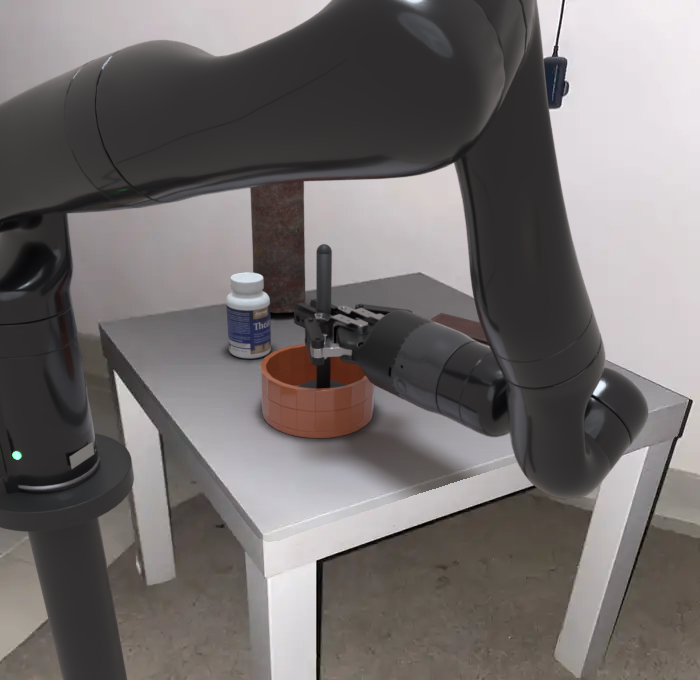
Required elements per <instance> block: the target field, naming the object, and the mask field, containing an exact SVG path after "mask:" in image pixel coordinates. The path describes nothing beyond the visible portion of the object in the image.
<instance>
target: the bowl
mask: <svg viewBox="0 0 700 680" xmlns="http://www.w3.org/2000/svg"><path fill="white" fill-rule="evenodd" d="M259 366H260V392H261V393H260V396H261V409H262V412H261V413H262V417H263V419H264V420H265V422H266V423H267V424H268V425H269V426H271V427H272V428H273V429H275V430H277V431H279V432H281V433H284V434H287V435H291V436H295V437H299V438H305V439H306V438H308V439H330V438H337V437H343V436H346V435H350V434H353V433H355V432H357V431H359V430H361V429H362V428H364V427H365V426H367V425H368V424H369V423H370V421H371V420H372V418H373V414H374V407H375V387H376V386H375V385H374V384H372V383H371V382H370V381H369V380H368V378H367V377H366V375H365V374H364V372H363V370H362V369H361V367H360V366H359V365H356V364H352V363H346V362H344V361H342V360H341V359H340V358H339V357H331V375H330V380H333V381H337V382H341V383H343V384H345V385H346V386H341V387H335V388H319V389H314V388H303V387H298V386H299V385H301V384H303V383H305V382H308V381H313V380H316V365H313V364H312V363H311V361H310V358H309V355H308V352H307V349H306V346H305V343H301V344H295V345H289V346H286V347H282V348H279V349H276V350H274V351H272V352H271V353H268V354H267V355H265V356H264V358H263V359H262V361H261V362H260V365H259Z"/></svg>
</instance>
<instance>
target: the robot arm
mask: <svg viewBox="0 0 700 680" xmlns="http://www.w3.org/2000/svg"><path fill="white" fill-rule="evenodd" d="M541 29H542V28H541V20H540V14H539V7H538V0H330V1H329V2H328V3H327V4H326V5H325V6H324V7H323V8H321V10H320V11H318V12H317V13H316V14H315V15H313V16H311V17H310V18H308V19H307V20H305V21H303V22H302V23H300V24H298V25H296V26H294V27H292V28H291V29H289V30H287V31H285V32H283V33H280V34H279V35H277V36H275V37H272V38H270V39H267V40H265V41H263V42H260V43H258V44H255V45H252V46H250V47H248V48H246V49H243V50H239V51H237V52H233V53H230V54H226V55H214V54H213V53H210V52H209V51H206V50H203V49H202V48H200V47H197V46H194V45H192V44H189V43H185V42H182V41H177V40H170V39H156V40H155V39H154V40H148V41H143V42H139V43H135V44H131V45H129V46H126V47H122V48H121V49H118V50H115V51H112V52H110V53H108V54H105V55H102V56H99V57H97V58H95V59H92V60H90V61H87V62H85V63H83V64H82V65H80V66H77V67H75V68H73V69H70V70H69V71H66V72H64V73H61V74H59V75H57V76H55V77H52V78H50V79H48V80H45V81H43V82H41V83H39V84H37V85H34V86H33V87H30V88H29V89H28V88H27V89H25V90H24V91H22V92H19V93H18V94H16V95H13V96H12V97H10V98H9V99H7V100H4V101H3V102H0V477H2V479H3V481H4V484H5V488H6V492H7V493H8V494H11V493H15V492H24V493H33V494H43V493H53V492H58V491H63V490H66V489H70V488H73V487H75V486H78V485H80V484H82V483H84V482H85V481H87V480H88V479H90V478H91V477H92V476H93V475H94V474H95V473H96V472H97V471H98V469H99V467H100V457H99V453H98V451H97V443H96V440H95V434H94V433H95V428H94V422H93V417H92V410H91V405H90V398H89V392H88V387H87V380H86V375H85V368H84V363H83V358H82V351H81V350H82V349H81V345H80V339H79V334H78V328H77V327H78V326H77V320H76V315H75V309H74V304H73V299H72V298H73V297H72V291H71V285H72V280H73V276H74V260H73V259H74V258H73V250H72V242H71V240H72V239H71V232H70V223H69V214H86V213H87V214H88V213H101V212H103V213H104V212H112V211H113V212H114V211H122V210H131V209H132V210H133V209H143V208H149V207H154V206H159V205H165V204H170V203H177V202H182V201H184V200H185V201H186V200H189V199H193V198H197V197H200V196H206V195H212V194H218V193H225V192H235V191H239V190H246V189H250V188H252V187H258V186H263V185H269V184H276V183H287V182H304V183H305V182H330V181H363V180H364V181H365V180H366V181H367V180H386V179H400V178H409V177H417V176H422V175H426V174H430V173H432V172H435V171H438V170H439V171H440V170H442V169H444V168H447V167H449V166H451V165H454V168H455V169H454V170H455V173H456V177H457V181H458V186H459V191H460V195H461V199H462V208H463V215H464V221H465V231H466V242H467V253H468V263H469V264H468V266H469V275H470V276H469V277H470V283H471V290H472V297H473V300H474V305H475V311H476V314H477V317H478V322H480V325H481V328H482V330H483V333H484V335H485V338H486V340H487V342H488V344H489V346H490V347H489V346H487V345H484V344H482V343H480V342H478V341H475V340H474V339H472V338H470V337H469V336H467V335H465V334H463V333H462V332H459V331H457V330H455V329H452V328H449V327H447V326H444V325H442V324H439V323H437V322H434V321H432V320H431V319H429V318H426V317H424V316H421V315H419V314H416V313H413V310H411V309H405V308H397V307H390V306H381V305H373V304H366V303H357V304H355V305H354V308H352V307H350V306H348V305H339V306H336V305H335V304H332V303H331V315H329V314H326V313H323V312H322V311H320V310H317V309H316V298H314V299H311V300H310V303H309V304H306V303H305V304H304V303H299V304H295V306H294V312H293V321H294V322H293V323H294V324H295V325H296V326H299V327H301V328H303V329H304V344H305V346H306V349H307V352H308V355H309V358H310V361H311V363H312V364H313V365H317V366H319V365H323V364H324V359H327V357H339V358H340V359H341V360H342V361H344V362H346V363H352V364H356V365H359V366H360V367H361V369H362V370H363V372H364V374H365V375H366V377H367V378H368V380H369V381H370V382H371V383H372V384H374V385H375V387H377V388H379V389H381V390H383V391H385V392H387V393H389V394H391V395H394V396H396V397H398V398H399V399H402V400H403V401H406V402H408V403H410V404H412V405H414V406H416V407H417V408H420V409H422V410H424V411H425V412H426V411H427V412H429V413H433V414H435V415H439V416H442V417H444V418H446V419H448V420H451V421H452V422H454V423H456V424H459V425H460V426H462V427H465V428H467V429H469V430H472V431H473V432H475V433H477V434H479V435H481V436H484V437H488V438H492V439H493V438H494V439H495V438H501V437H505V436H507V435H508V434H509V440H510V445H511V449H512V452H513V455H514V457H515V461H516V462H517V465H518V467H519V469H520V470H521V471H522V473H523V475H524V476H525V478H526V479H527V480H528V481H529V482H530V484H531V485H533V486H534V487H535V488H536V489H538V490H539V491H540V492H541V493H543V494H545V495H547V496H549V497H552V498H554V499H559V500H566V501H567V500H568V501H570V500H578V499H582V498H584V497H586V496H588V495H590V494H591V493H593V492H594V491H595V490H596V489H597V488H598V487H599V486H600V485H601V484H602V483H603V482H604V480H605V479H606V477H607V476H608V475H609V474H610V472H611V471H612V470H613V469H614V467H615V466H616V465H617V463H618V462H619V461H620V460H621V458H622V457H623V456H624V454H625V453H626V452H627V450H628V449H629V448H630V447H631V445H632V444H633V443H634V442H635V440H637V438H638V437H639V435H640V434H641V432H642V431H643V429H645V426H646V424H647V421H648V418H649V405H648V402H647V399H646V398H645V395H644V393H643V392H642V390H641V389H640V388H639V386H638V385H637V384H636V383H635V382H634V381H633V380H631V379H630V378H629V377H627V376H626V375H625V374H623V373H622V372H619V371H617V370H615V369H613V368H611V367H609V366H606V361H607V360H606V358H607V357H606V349H605V345H604V341H603V337H602V333H601V332H600V328H599V325H598V322H597V317H596V314H595V311H594V307H593V305H592V303H591V299H590V296H589V293H588V290H587V286H586V284H585V280H584V276H583V272H582V270H581V266H580V263H579V259H578V255H577V251H576V249H575V248H576V247H575V243H574V240H573V235H572V231H571V227H570V222H569V217H568V213H567V208H566V203H565V198H564V197H565V196H564V193H563V188H562V187H563V186H562V182H561V176H560V170H559V164H558V163H559V162H558V158H557V152H556V145H555V139H554V133H553V127H552V119H551V114H550V113H551V112H550V107H549V100H548V99H549V98H548V90H547V79H546V69H545V59H544V50H543V40H542V31H541ZM327 325H328V333H327Z"/></svg>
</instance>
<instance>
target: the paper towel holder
mask: <svg viewBox="0 0 700 680" xmlns="http://www.w3.org/2000/svg"><path fill="white" fill-rule="evenodd" d="M315 252H316V263H315V264H316V271H315V272H316V281H315V282H316V288H315V289H316V290H315V291H316V292H315V294H316V298H315V299H316V309H317V310H320V311H322V312H323V313H326V314H329V315H331V304H332V279H333V278H332V275H333V272H332V271H333V250H332V248H331V246H330V245H328V244H326V243H323V244H322V243H321V244H320V245H319V246H318V247H317V248H316V251H315ZM327 333H328V325H327ZM330 375H331V357H327V359H324V364H323V365H319V366H317V365H316V380H313V381H308V382H305V383H303V384H301V385H299V386H298V387H303V388H314V389H319V388H335V387H341V386H346V385H345V384H343V383H341V382H337V381H333V380H330Z"/></svg>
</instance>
